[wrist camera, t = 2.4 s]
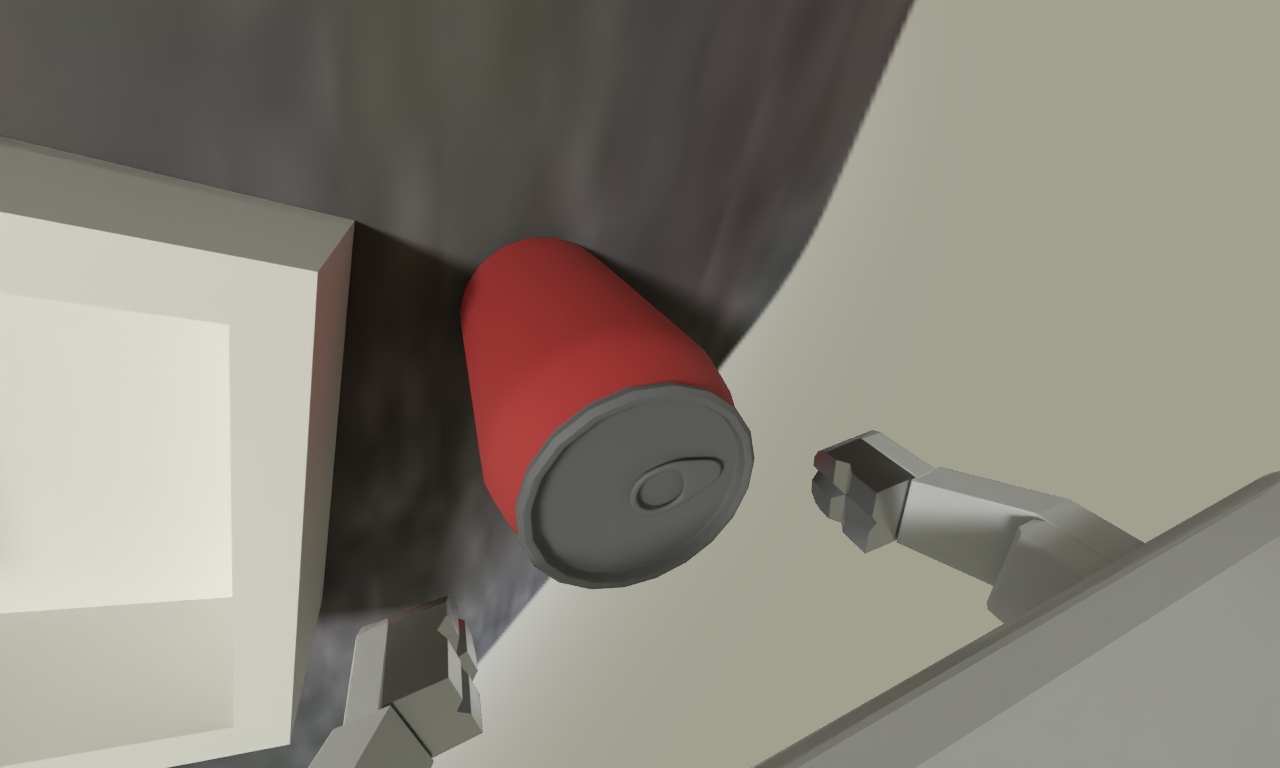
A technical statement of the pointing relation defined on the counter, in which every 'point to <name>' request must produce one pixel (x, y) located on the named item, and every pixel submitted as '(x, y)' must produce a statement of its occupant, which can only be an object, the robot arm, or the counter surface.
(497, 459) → the beer can
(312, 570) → the tray
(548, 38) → the counter surface
